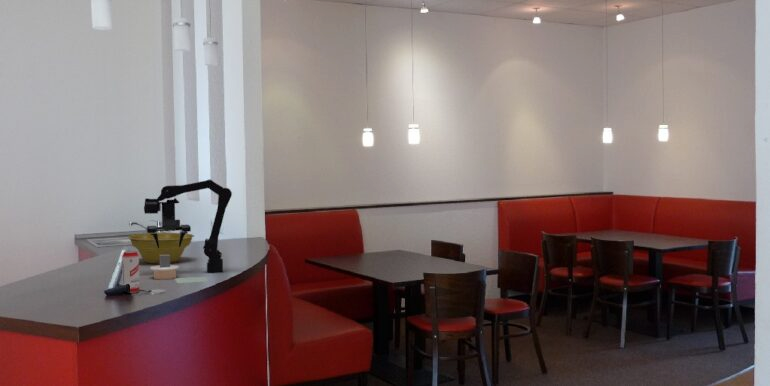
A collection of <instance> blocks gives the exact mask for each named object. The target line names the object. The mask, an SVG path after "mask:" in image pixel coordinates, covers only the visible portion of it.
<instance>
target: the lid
mask: <svg viewBox="0 0 770 386" xmlns="http://www.w3.org/2000/svg"><path fill="white" fill-rule="evenodd" d="M175 269H176V270H178V269H180V265H178V264H171V263H170V255H160V263H159V264H157V265H151V266H150V269H149V270H151V271H154V270H155V271H166V270H175Z"/></svg>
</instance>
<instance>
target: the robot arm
mask: <svg viewBox="0 0 770 386" xmlns="http://www.w3.org/2000/svg"><path fill="white" fill-rule="evenodd" d="M206 189H208V190H210V191H212V192H213V193H215V195H218V196H217V197H218V198H217V208H216V212H215V216H214V221H213V224H212V229H211V232H210V236H209V238H205V239H204V245H203V247H202V249H203V253H204V255H205V256H206V257H208V259H207V262H206V272H207V273H209V274H219V273H224V262H223V260H224V259H223V258H222V256H223V253H222V252H221V251H220V250H219V249H218V247H219V236H220V233H221V230H222V229H221V228H222V224H223V222H224V221H223V220H224V217H225V213H226V208H227V207H228V205H229V202H230V201H231V198H232V196H233V192H232V190H231V189H230V188H228V187H223V186H221V185H220V184H218V183H217V182H215V181H214V180H213V179H207V180H203V181H197V182H193V183H191V182H190V183H186V184H179V185H178V184H177V185H175V184H174V185H173V184H172V185H165V186H163V187H162V188H161V190H160V194H159V196H158V197H157V198H145V199H144V206H143V211H144V215H145V214H146V215H147V214H148V215H149V214H150V215H152V214H159V212H161V226H157V225H147V226H146V234H148V233H150V235H153V237H154V239H155V241H156V244H157V247H158V248H159V242H158V235H157V233H158V232H170V231H171V232H174V231H179V233H180V236H179V247H180V246H181V243H182V240H183V237H184V235H185V234H189V233H188V232H191V231H192V229H191V225H189V224H181V220H180V219H176V206H175V205H176V204H179V203H180V201H179V200H178V199H177V198H176V197H177V196H179V195H183V194H186V193H191V192H196V191H200V190H201V191H202V190H206ZM172 198H173V199H172ZM164 200H166V201H164Z"/></svg>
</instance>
